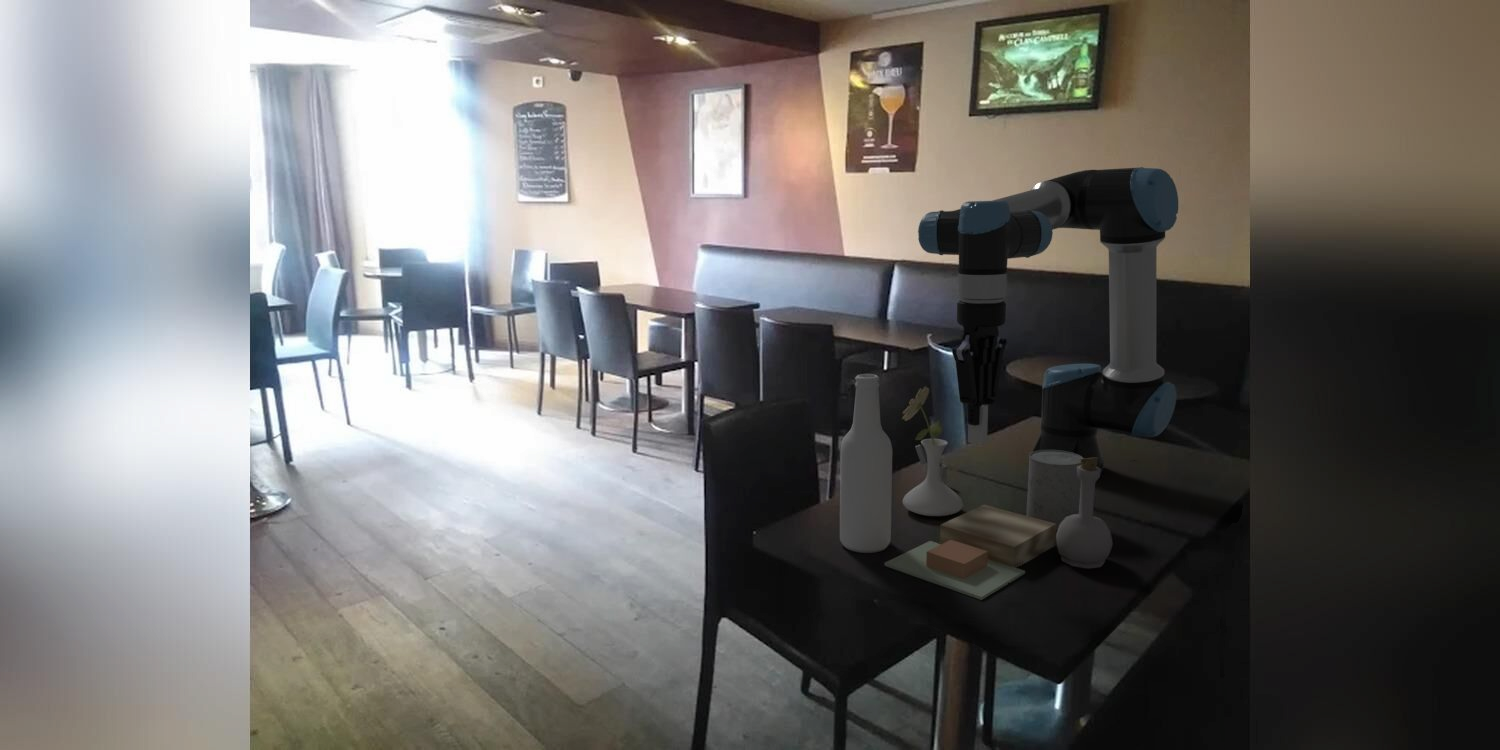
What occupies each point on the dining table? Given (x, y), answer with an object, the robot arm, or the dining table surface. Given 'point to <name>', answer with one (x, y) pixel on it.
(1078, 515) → the potion bottle
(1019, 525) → the birch board
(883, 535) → the alcohol
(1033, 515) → the white cylinder
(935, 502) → the flower in vase
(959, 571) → the terracotta tile
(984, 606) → the dining table surface
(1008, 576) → the rubber mat
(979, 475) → the dining table surface
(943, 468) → the lighter
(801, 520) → the dining table surface
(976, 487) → the dining table surface
